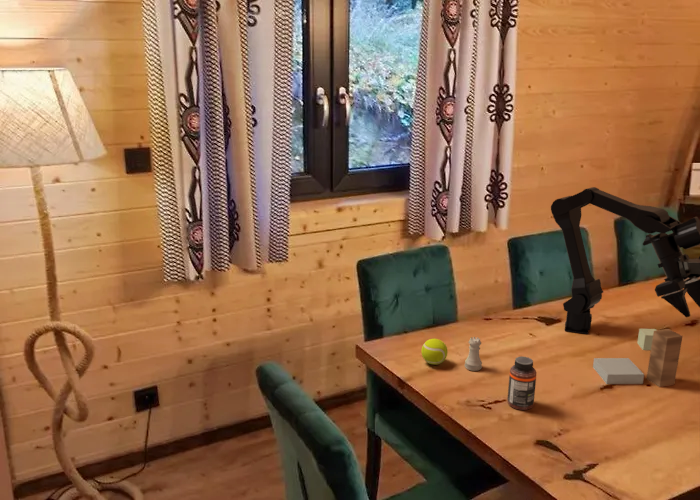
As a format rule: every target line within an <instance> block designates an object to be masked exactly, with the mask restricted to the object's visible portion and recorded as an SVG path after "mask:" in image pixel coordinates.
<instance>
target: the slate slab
mask: <svg viewBox="0 0 700 500" xmlns="http://www.w3.org/2000/svg"><path fill="white" fill-rule="evenodd" d="M592 368H593V369H594V371H596V373H597V375H599V377H600V378H601V379H602V381H603V382H604V383H605V385H643V384H644V378H645V373H643V372H642V370H641V369H639V367H638V366H637V365H636V364H635V363H634V362H633V361H632V360H631V359H630V358H629V357H599V358H598V357H597V358H596V357H594V358H593V364H592Z"/></svg>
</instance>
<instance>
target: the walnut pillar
mask: <svg viewBox="0 0 700 500" xmlns="http://www.w3.org/2000/svg"><path fill="white" fill-rule="evenodd" d="M683 337H684V336H683V335H681V334H680V333H678V332H675V331H673V330H672V329H670V328H665V329H663V328H662V329H656V331H654V333H653V340H652V346H651V350H650V354H649V359H648V360H649V361H648V365H647V366H648V367H647V372H646V380H648V381H649V382H651V383H652V384H654V385H655V386H656V387H658V388H662V387H669V386H674V385H675V383H676V377H677V372H678V371H677V370H678V365H679V359H680V355H681V353H680V352H681V347H682V342H683Z"/></svg>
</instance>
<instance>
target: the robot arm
mask: <svg viewBox="0 0 700 500" xmlns="http://www.w3.org/2000/svg"><path fill="white" fill-rule="evenodd" d="M588 205H592V206H595V207H597V208H599V209H602V210H604V211H607V212H610V213H612V214H614V215H616V216H619V217H620V218H624V219H626V220H628V221H629V222H630V223H631V224H632V225H633V226H634V227H635V228H637V229H639V230H640V231H642V232H643V233H645V234H646V235H645V238H644V241H643V242H642V246H647V245H650V244H651V245H652V248H653V250H654V251H655V252H654V253H655V254H656V256H657V259H658V261H659V263H657V266H658V269H660V268H661V269H662V270H663V272H664V274H665V276H666V278H664V279H663V280H664V281H663V282H660V283H659V284H657V285H656V286H655V288H654V292H655V293H656V294H655V295H656V296H657V297H660V298H661V299H663V300H664V301H665V302H667V303H668V304H670V305H671V306H672V307H674V309H676V310H677V311H678V312H679V313H681V314H682V315H683V316H684V317H685V318H690V317H691V316H692V315H691V313H690V308H689V306H688V302H687V298H686V294H688V296H689V297H690V298H691V299H692V300H693V301H694V303H695V304H696V305H697V306H698V307H699V308H700V255H699V257H696V258H690V257H689V255H688V254H687V253H684V254H683V251H682V250H681V248H682V249H684V250H689V249H692V248H694V247H697V246H700V219H699V217H698V216H695V217H693V218H690V219H688V220H687V221H683V222H681V221H679V220H677V219H675V218H674V217H672V216H671V215H669V212H668V211H667V210H666V209H664V208H662V207H661V208H660V207H657V206H651V205H643V204H637V203H634V202H631V201H629V200H626V199H624V198H621V197H619V196H616V195H613V194H611V193H610V192H609V193H608V192H606V191H604V190H601V189H600V188H598V187H596V186H592V187H589V188H584V189H583V190H582V191H580V192H578V193H575V194H574V195H568V196H567V195H566V196H564V197H560V198H556V199H555V200H554V201H553V202H552V204H551V206H550V211H551V214H552V218H553V219H554V221H555V223H556V225H558V227H559V228H560V229H561V232H562V235H563V239H564V245H565V249H566V252H567V256H568V260H569V265H570V269H571V270H570V271H571V272H572V277H573V278H572V279H573V280H572V283H571V284H572V285H571V288H570V289H571V290H570V291H571V298H569V299H568V300H566V301H565V302H563V303H562V306H563V311H565V312H566V319H565V322H564V331H565V332H569V333H575V334H585V335H589V331H591V327H592V319H593V318H592V317H593V316H592V313H591V309H594V307H595V306H596V305H597V304H599V303H600V301H601V300H602V298H603V293H604V290H603V289H602V285H601V284H602V283H601V279H600V278H598V279H595V277H594V276H593V275H592V274H591V270H590V267H589V266H590V265H589V261H588V257H587V252H586V250H585V249H586V248H585V244H584V241H583V236H582V232H581V227H580V224H581V219H582V208H584V207H587V206H588ZM671 231H672V233H669V232H671ZM654 233H656V234H654ZM668 233H669V234H668ZM653 234H654V235H653Z"/></svg>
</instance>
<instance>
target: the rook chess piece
mask: <svg viewBox="0 0 700 500" xmlns="http://www.w3.org/2000/svg"><path fill="white" fill-rule="evenodd" d="M468 344H469V346H468V348H469V351H468V356H467V358H466V359H465V361H464V367H465V369H467V371H468V370H469V371H472V372H477V371H480V370H481V369H482V368H483V366H482V364H483V362H482V360H481V358H480V350H481V347H480V346H481V345H482V341H481V338H479V337H476V336H473V337H470V339H469V341H468Z"/></svg>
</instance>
